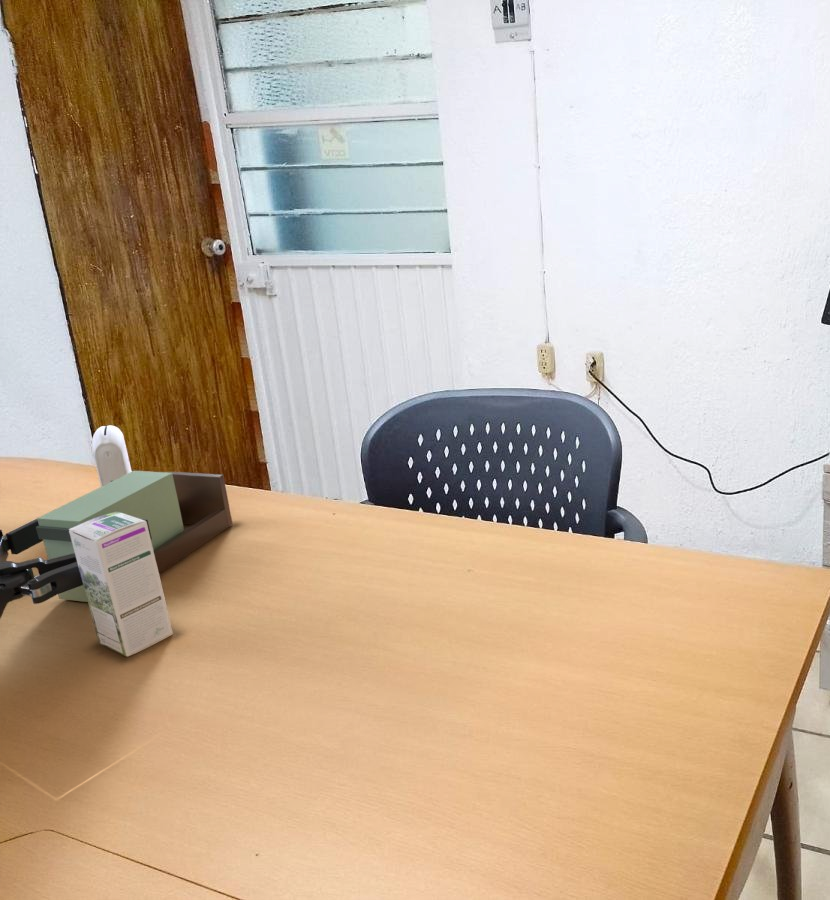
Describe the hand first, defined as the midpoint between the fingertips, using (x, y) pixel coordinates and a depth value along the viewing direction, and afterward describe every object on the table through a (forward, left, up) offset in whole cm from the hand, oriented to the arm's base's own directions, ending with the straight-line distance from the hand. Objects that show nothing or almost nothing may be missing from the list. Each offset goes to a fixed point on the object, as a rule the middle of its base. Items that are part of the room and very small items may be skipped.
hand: (100, 525), depth 104 cm
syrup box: (+13, -12, -8) cm, 19 cm away
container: (0, +2, -8) cm, 8 cm away
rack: (0, +9, -8) cm, 12 cm away
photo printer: (-19, +23, -8) cm, 31 cm away
